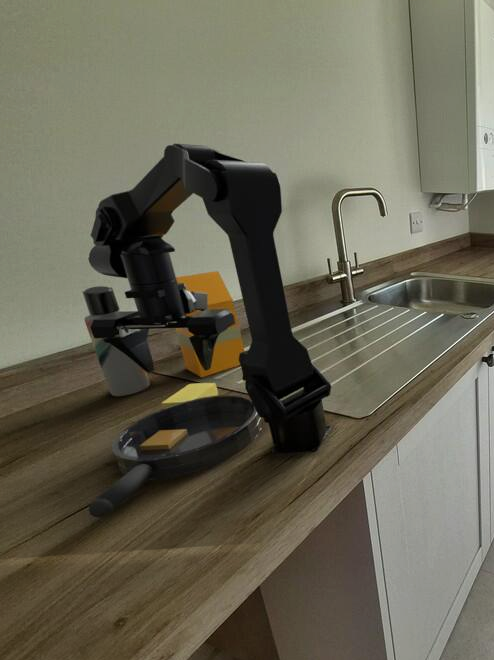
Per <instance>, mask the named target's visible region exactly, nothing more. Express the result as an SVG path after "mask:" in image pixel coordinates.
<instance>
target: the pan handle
mask: <svg viewBox="0 0 494 660" xmlns="http://www.w3.org/2000/svg"><path fill="white" fill-rule="evenodd" d="M152 474H153V469H152V467H151V466H149V465H147V464H141V465H138V466H136V467H134V468H133V469H132V470H131V471H129V472H128V473H127V474H126V475H124V474H123V476H122V477H121V478H119V479H118V480H117V481H116V482H115V483H113V484H112V485H111V486H109V488H107V489H106V490H105V491H104V492H102V493H101V494H100V495H99V496H97V497H96V498H95V499H94V500H93V501H91V503H90V504H89V507H88V513H89V514H90V516H92V517H94V518H103V517H106V516H108V515H110V514H111V513H112V512H113V511H114V510H116V509H117V508H118V507H119V506H120V505H122V503H124V502H125V501H126V500H127V499H128V498H129V497H130V496H132V495H133V494H134V493H135V492H136V491H137V490H138V489H140V487H141V486H143V485H144V484H145V483H146V482H147V481H148V479H149V478H150V477H151V476H152Z"/></svg>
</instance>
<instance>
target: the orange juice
mask: <svg viewBox="0 0 494 660" xmlns="http://www.w3.org/2000/svg"><path fill="white" fill-rule="evenodd" d="M176 279H177V283H184V285H185V286H186V289H187V291H190V292H199V293H207V305H208V309H228V310H229V311H230V312H232V313H233V315H234V319H235V324H234V325H232V326H230V327H228V329H227V330H225V331H224V332H222V333H220V334H219V336H218V338H217V341H216V344H215V348H214V353H213V358H212V364H211V368H210V369H209V370H207V371H205V370H204V369H203V367H202V366H201V364H200V362H199V360H198V357H197V355H196V353H195V351H194V348H193V346H192V344H191V342H190V339H189V338H190V337H191V336H193V335H194V334H192V333H191V332H189V331H188V328H174V329H175V333H176V337H177V340H178V343H179V347H180V349H181V354H182V357H183V360H184V363H185V364H184V365H185V368H186V369H187V370H188V371H190V372H192V373H193V374H195V375H196V376H199V377H200V378H205V377H207V376H210V375H214V374H217V373H219V372H223V371H226V370H229V369H233V368H235V367H239V366H241V365H240V362H239V355H240V353H242V352H244V351H245V348H244V342H243V339H242V333H241V329H240V325H239V322H238V317H237V311H236V308H235V305H234V300H233V298H232V296H231V294H230V292H229V290H228V288H227V286H226V283H225V282H224V280H223V278H222V276H221V275H220V273H219V271H218V270H216V271H210V272H202V273H197V274H196V273H195V274H191V275H183V276H176ZM200 312H202V311H201V310H195V312H193V313H188V314H186V316H194V315H196V314H198V313H200ZM173 323H177V322H176V321H175V322H173Z"/></svg>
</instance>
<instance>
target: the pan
mask: <svg viewBox="0 0 494 660" xmlns="http://www.w3.org/2000/svg"><path fill="white" fill-rule="evenodd" d="M262 420H263V419H262V417H260V416H259V415H258V413H257V411H256V409H255V407H254V405H253V403H252V401H251V399H250V397H249V396H246V395H239V394H218V395H216V396H209V397H203V398H198V399H194V400H189V401H185V402H182V403H179V404H176V405H173V406H169V407H167V408H164V409H163V408H162V409H159V410H157V411H154V412H152V413H149V414H148V415H146V416H144V417H142V418H140V419H139V420H136V421H135V422H133V423H132V424H130V425H129V426H128V427H126V428H124V429H123V430H122V431H121V432H120V433H119V434H118V435H117V436H116V437H115V439H114V440H113V442H112V445H111V449H112V452H113V455H114V458H115V461H116V463H117V466H118V468H119V471H120V473H122V474H123V476H124V475H126V474H127V473H128V472H129V471H131V470H132V469H133V468H134V467H136V466H138V465H141V464H147V465H149V466H151V467H152V469H153V474H152V476H151V477H150V478H149V479H148V480H150V481H152V480H164V479H169V478H175V477H180V476H184V475H187V474H191V473H194V472H198V471H200V470H203V469H206V468H209V467H211V466H213V465H215V464H218V463H221V462H222V461H225V460H227V459H228V458H230V457H232V456H234V455H236V454H237V453H239V452H240V451H242V450H243V449H245V448H246V447H247V446H249V445H250V444H251V443H252V442H253V441H254V440H255V439H256V438H257V437H258V435H259V434H260V432H261V430H262V428H263V421H262ZM180 429H187V432H188V434H187V435H185V436H184V437H183V438H182V439H181V440H179V441H178V442H177V443H176V444H175V445H174V446H172V447H171V448H170V449H161V450H140V447H139V446H140V445H141V444H142V443H144V442H145V441H146V440H148V439H149V438H150V437H152V436H153V435H154V434H155V433H157V432H158V431H159V430H180ZM148 480H147V481H148Z"/></svg>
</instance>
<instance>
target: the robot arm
mask: <svg viewBox="0 0 494 660" xmlns="http://www.w3.org/2000/svg"><path fill="white" fill-rule="evenodd" d="M281 188H282V187H281V182H280V179H279V177H278V174H277V173H276V172H275V171H273V170H272V169H271V168H270V166H268V165H267V164H266V163H264V162H260V161H249V160H246V159H242V158H241V157H236V156H233V155H229V154H226V153H223V152H221V151H219V150H217V149H215V148H211V147H210V146H208V145H201V144H186V143H173V144H170V145H167V146H165V148H164V151H163V157H162V158H161V159H160V160H159V161H158V162H157V163H155V164H154V166H153V167H151V169H150V170H149V171H148V172H147V173H146V174H145V175H144V176H143V178H142V179H140V180H139V182H138V183H137V184H136V185H135V186H134V187H133V188H131V189H130V190H127V191H122V192H117V193H113V194H111V195H108V196H107V197H105V198H103V199H101V200H100V202H99V203H98V206H97V208H96V210H95V217H94V222H93V226H92V229H91V232H90V237H91V238H92V241H93V242H92V243H93V245H94V246H93V247H92V248H91V249H90V251H89V253H88V263H89V265H90V266H91V268H92V269H93V270H94V271H96V272H97V273H99V274H101V275H104V276H108V277H114V278H121V279H127V281H128V284H129V287H130V289H129V290H126V291H124V295H125V298H126V299H134V305H135V306H136V310H135V311H134V310H132V311H131V310H129V311H127V310H124V312H115V313H112V314H109V315H106V316H103V317H100V318H98V319H95V320H93V322H92V325H91V327H90V329H91V331H92V334H93V337H94V338H105V339H103V341H104V343H110V344H111V345H113V346H114V347H116V348H117V349H118V350H120V351H121V352H123V353H124V354H125V355H127V356H128V357H129V358H130V359H132V360H133V361H134V362H135V363H136V364H138V365H139V366H140V367H141V368H142V369H144V370H145V371H146V372H147V374H148V373H152V372H154V371H155V365H154V360H153V357H152V353H151V349H150V346H149V343H148V336H149V333H150V332H149V331H150V330H153V329H156V330H157V329H158V330H159V329H175V328H188V331H189V332H191V333H192V334H194V335H193V336H191V337H190V338H189V339H190V342H191V344H192V346H193V348H194V351H195V353H196V355H197V357H198V360H199V362H200V364H201V366H202V367H203V369H204V370H205V371H207V370H209V369H210V368H211V364H212V358H213V353H214V348H215V344H216V341H217V338H218V336H219V334H220V333H222V332H224V331H225V330H227V329H228V327H230V326H232V325H234V324H235V319H234V315H233V313H232V312H230V311H229V310H228V309H208V305H207V293H199V292H190V291H187V289H186V286H185V285H184V283H177V279H176V277H177V276H176V272H175V269H174V265H173V262H172V257H171V254H170V253H173V252H176V248H175V247H174V246H173V245H172V244H171V243H169V242H167V241H166V240H164V239H163V237H164V236H165V235H167V233H168V232H169V231H170V229H171V228H172V227H173V225H174V223H175V218H174V216H173V212H174V211H175V210H177V208H179V207H180V206H181V205H182V204H183V203H184V202H185V201H186V200H188V199H189V198H190V197H191V196H192V195H196V196H197V197H199V198H201V199H202V201H203V204H204V207H205V210H206V213H207V215H208V216H209V217H210V218H211V220H212V221H214V222H215V224H217V226H218V227H219V228H220V229H221V230H222V231H223V232H224V233H225V234H226V235H227V237H228V240H229V244H230V249H231V253H232V258H233V263H234V267H235V271H236V275H237V280H238V284H239V289H240V292H241V298H242V302H243V306H244V310H245V315H246V320H247V324H248V329H249V333H250V337H251V344H250V346H249V347H248V350H244V352H242V353H240V355H239V362H240V365H239V366H240V367H241V372H242V381H243V382H245V383H244V386H245V390H246V392H247V395H248V397H249V398H250V399H251V401H252V403H253V405H254V407H255V409H256V411H257V413H258V415H259V416H260V417H261V419H263V421H264V423H265V424H268V426H269V432H270V436H271V440H272V444H273V445H275V446H274V447H273V448H272V450H271V454H272V455H274V454H275V455H277V454H278V455H279V454H299V453H315V452H317V451H319V449H320V447H321V446H322V444H323V443H324V441H325V439H326V438H327V436H328V434H329V432H330V431H331V429H332V425H327V422H326V416H325V409H324V405H323V399H325V398H327V397H329V396H330V395H331V391H332V384H331V383H330V382H329V380H328V379H327V378H326V377H325V376H324V375H323V374H322V372H321V371H320V370H319V369H318V367H316V365H315V364H314V363H313V362H312V360H311V356H310V353H309V350H308V348H307V347H306V346H304V344H302V342H301V341H299V339H298V338H297V337H295V335H294V334H293V333H294V332H293V330H292V324H291V319H290V314H289V308H288V303H287V298H286V294H285V288H284V283H283V278H282V277H283V276H282V273H281V268H280V262H279V257H278V252H277V247H276V242H275V235H274V232H275V230H276V227H277V226H278V222H279V220H280V218H281V215H282V212H283V203H282V202H283V201H282V189H281ZM195 310H201V311H202V312H200V313H198V314H196V315H194V316H186V314H188V313H193V312H195ZM175 321H176V322H177V323H174V322H175Z"/></svg>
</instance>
